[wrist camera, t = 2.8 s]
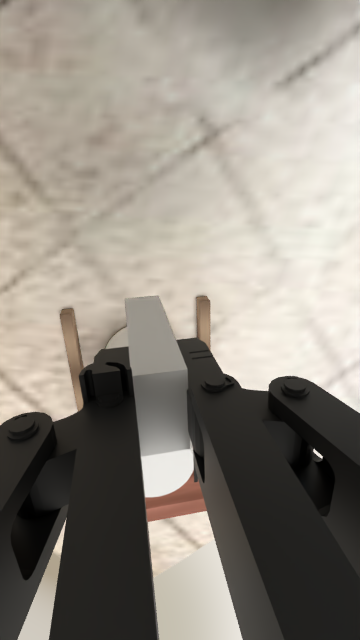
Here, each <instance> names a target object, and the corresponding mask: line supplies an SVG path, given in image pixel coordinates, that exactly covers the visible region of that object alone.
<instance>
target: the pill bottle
mask: <svg viewBox="0 0 360 640" xmlns="http://www.w3.org/2000/svg"><path fill="white" fill-rule="evenodd" d="M128 346H129V345H128V333H127V327H126V328H123V329H122V330H120V331H119V332H117V333H116V334H115V335H114V336H113V337H112V338H111V339H110V341H109V342H108V344H107V346H106V348H105V349H110V348H119V347H128ZM141 461H142V470H143V480H144V491H145V497H159V496H163V495H167V494H169V493H171V492H174V491H175V490H177V489H179V488H180V487H181V486H182V485H184V484H185V483H186V482H187V480H188V479H189V478H190V476H191V474H192V472H193V470H194V462H193V446H192V442H191V439H190V449H186V450H180V451H174V452H168V453H161V454H155V455H149V456H143V457H141Z"/></svg>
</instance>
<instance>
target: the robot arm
mask: <svg viewBox="0 0 360 640" xmlns="http://www.w3.org/2000/svg"><path fill="white" fill-rule="evenodd" d="M125 308H126V320H127V333H128V345H129V346H128V347H119V348H110V349H101V350H100V351H99V353H98V354H97V355H96V356H95V357H94V363H93V364H90V365H88V366H87V367H85V368H84V369H83V370H81V372H80V374H79V382H80V387H81V393H82V398H83V408H82V409H81V410H80V411H78V412H77V413H75V414H73V415H71V416H69V417H67V418H64V419H61V420H58V421H55V422H52V419H51V417H50V416H49V415H47V414H45V413H40V412H30V413H24V414H21V415H18V416H15V417H13V418H11V419H9V420H7V421H6V422H4V423H3V424H2V425H0V640H17V639H18V636H19V634H20V631H21V629H22V626H23V624H24V621H25V619H26V616H27V614H28V612H29V609H30V606H31V604H32V602H33V599H34V597H35V594H36V592H37V589H38V587H39V584H40V582H41V579H42V577H43V574H44V572H45V569H46V567H47V564H48V562H49V559H50V557H51V555H52V552H53V550H54V547H55V545H56V542H57V540H58V537H59V535H60V532H61V530H62V527H63V525H64V522H65V520H66V526H65V533H64V540H63V546H62V553H61V561H60V568H59V574H58V581H57V588H56V595H55V601H54V609H53V615H52V622H51V629H50V636H49V640H159V634H158V624H157V613H156V603H155V593H154V583H153V572H152V562H151V552H150V542H149V531H148V521H147V511H146V501H145V491H144V480H143V470H142V461H141V457H143V456H149V455H155V454H161V453H168V452H174V451H180V450H186V449H190V439H191V442H192V446H193V462H194V483H195V482H198V480H199V484H200V487H201V491H202V495H203V498H204V502H205V505H206V509H207V513H208V516H209V520H210V523H211V527H212V531H213V534H214V538H215V541H216V545H217V548H218V552H219V555H220V558H221V563H222V566H223V570H224V574H225V577H226V581H227V584H228V588H229V592H230V595H231V599H232V602H233V606H234V610H235V613H236V617H237V620H238V624H239V628H240V631H241V635H242V638H243V640H360V413H358V412H357V411H355V410H354V409H352V408H351V407H349V406H348V405H346V404H345V403H343V402H342V401H340V400H339V399H337V398H336V397H334V396H332V395H331V394H329V393H328V392H326V391H325V390H323V389H322V388H320V387H319V386H317V385H316V384H314V383H313V382H310V381H308V380H306V379H303V378H299V377H296V376H284V377H278V378H276V379H274V380H272V381H271V383H270V384H269V391H257V390H247V389H243V388H241V386H240V385H239V383H238V382H237V381H236V380H235V379H234V378H233V377H231V376H229V375H227V374H223V372H222V370H221V369H220V367H219V365H218V364H217V362H216V360H215V358H214V357H213V355H212V353H211V351H210V350H209V348H208V346H207V344H206V343H205V342H203V341H202V340H200V339H198V338H190V339H181V340H176V339H175V336H174V334H173V331H172V329H171V326H170V323H169V321H168V318H167V316H166V313H165V311H164V308H163V306H162V303H161V301H160V298H159V296H148V297H137V298H127V299H125ZM313 449H315V450H316V451H317V452H319V453H320V454H321V455H322V456H323V459H321V458H320V457H318V456H317V455H316V454H315V453H314V452H313ZM66 517H67V519H66Z"/></svg>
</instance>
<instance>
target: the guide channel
mask: <svg viewBox="0 0 360 640" xmlns="http://www.w3.org/2000/svg"><path fill="white" fill-rule="evenodd" d="M60 319H61V324H62V330H63V335H64V340H65V345H66V351H67V356H68V361H69V366H70V372H71V377H72V382H73V388H74V393H75V398H76V403H77V409H78V411H80V410H81V409H82V408H83V398H82V393H81V387H80V382H79V374H80V372H81V370H83V363H82V357H81V351H80V345H79V339H78V334H77V328H76V322H75V316H74V310H73V309H63V310H62V311H61V314H60ZM197 338H198V339H200V340H202V341H203V342H205V343H206V344H207V346H208V348H209V350H210V300H209V299H208V298H207V296H204V297H197ZM145 501H146V511H147V521H148V522H150V521H155V520H160V519H165V518H171V517H176V516H181V515H187V514H192V513H197V512H203V511H207V509H206V505H205V502H204V498H203V495H202V491H201V487H200V484H199V480H198V482H195V483H194V470H193V472H192V474H191V476H190V478H189V479H188V480H187V482H186V483H185V484H184V485H182V486H181V487H180V488H179V489H177V490H175V491H174V492H171V493H169V494H167V495H163V496H159V497H145Z"/></svg>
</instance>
